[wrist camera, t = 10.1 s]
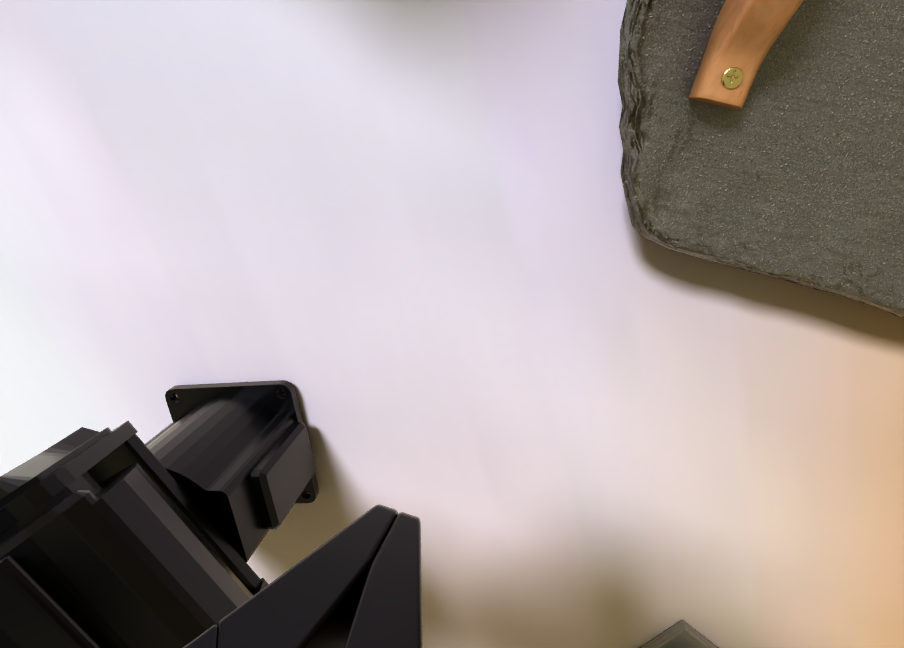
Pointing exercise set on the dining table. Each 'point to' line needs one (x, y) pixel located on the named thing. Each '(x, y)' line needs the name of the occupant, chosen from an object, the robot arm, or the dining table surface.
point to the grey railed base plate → (680, 638)
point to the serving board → (770, 137)
